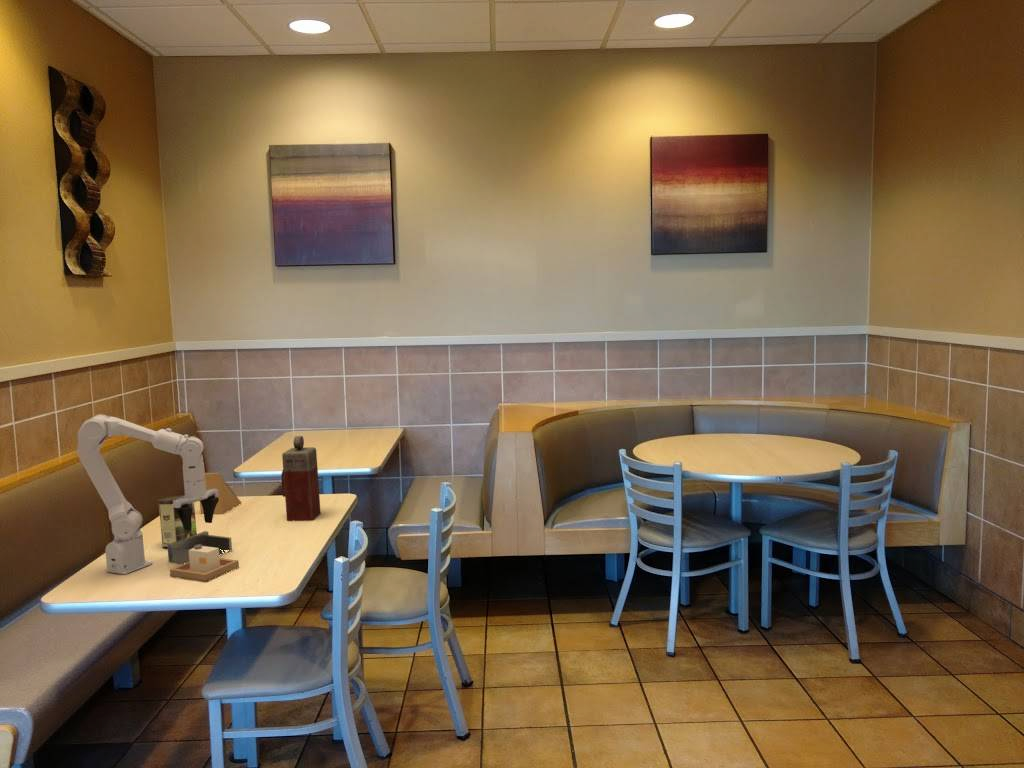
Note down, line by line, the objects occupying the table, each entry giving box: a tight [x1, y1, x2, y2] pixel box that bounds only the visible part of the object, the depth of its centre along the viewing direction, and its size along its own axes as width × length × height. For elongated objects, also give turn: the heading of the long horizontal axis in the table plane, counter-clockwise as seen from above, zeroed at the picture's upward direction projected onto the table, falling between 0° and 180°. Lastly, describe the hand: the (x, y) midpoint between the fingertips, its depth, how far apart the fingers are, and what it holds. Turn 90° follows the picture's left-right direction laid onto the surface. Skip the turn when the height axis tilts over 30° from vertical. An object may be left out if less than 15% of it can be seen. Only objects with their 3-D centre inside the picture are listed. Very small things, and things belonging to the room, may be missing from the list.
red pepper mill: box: [280, 435, 322, 522], centre depth 270 cm, size 9×11×28 cm
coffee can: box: [157, 494, 198, 548], centre depth 246 cm, size 10×10×14 cm
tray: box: [169, 557, 240, 583], centre depth 219 cm, size 12×13×2 cm
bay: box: [166, 530, 233, 564], centre depth 233 cm, size 14×10×5 cm
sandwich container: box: [199, 472, 243, 515], centre depth 286 cm, size 9×15×15 cm, turn 172°
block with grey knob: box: [189, 544, 221, 573], centre depth 219 cm, size 4×7×7 cm, turn 66°
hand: (198, 526), depth 229 cm, fingers open, 7 cm apart
